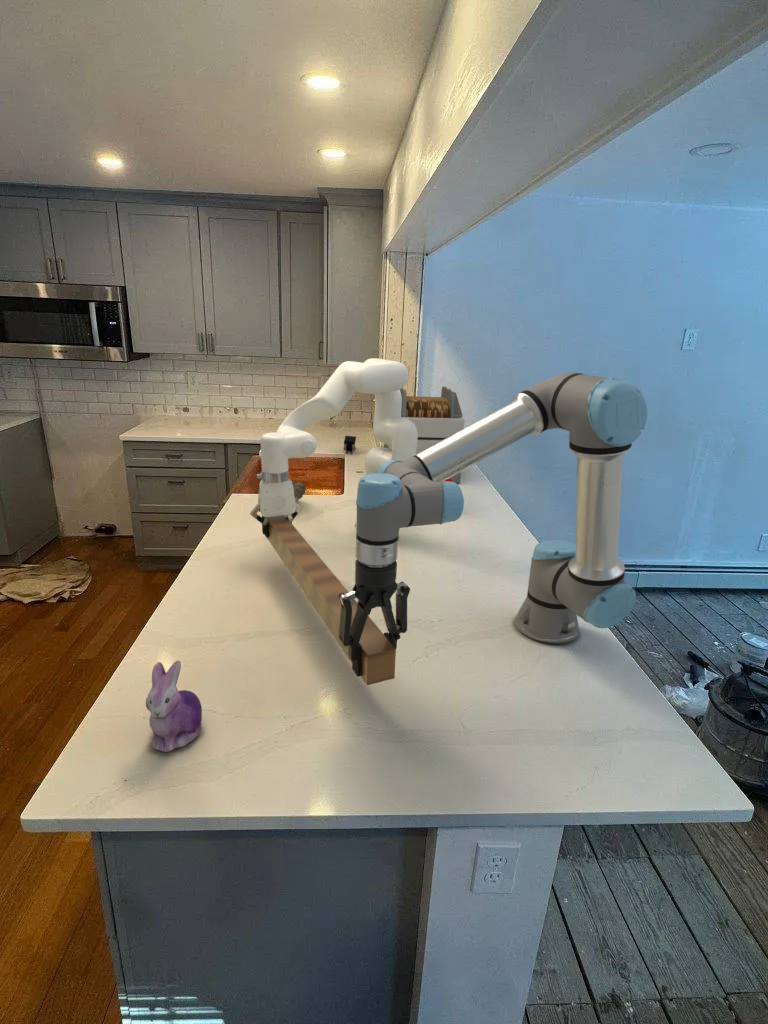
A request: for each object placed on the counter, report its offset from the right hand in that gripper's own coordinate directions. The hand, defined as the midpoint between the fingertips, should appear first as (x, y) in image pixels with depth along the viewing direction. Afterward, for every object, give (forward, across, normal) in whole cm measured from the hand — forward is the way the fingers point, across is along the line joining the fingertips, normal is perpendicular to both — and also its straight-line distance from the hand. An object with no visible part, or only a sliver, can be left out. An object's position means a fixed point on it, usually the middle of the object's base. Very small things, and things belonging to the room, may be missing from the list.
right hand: (372, 668), depth 110 cm
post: (0, 0, +35) cm, 35 cm away
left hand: (-1, +1, +70) cm, 70 cm away
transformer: (+9, +92, +147) cm, 173 cm away
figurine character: (+9, +76, +196) cm, 210 cm away
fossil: (+9, +18, +118) cm, 120 cm away
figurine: (+9, -36, +6) cm, 37 cm away
